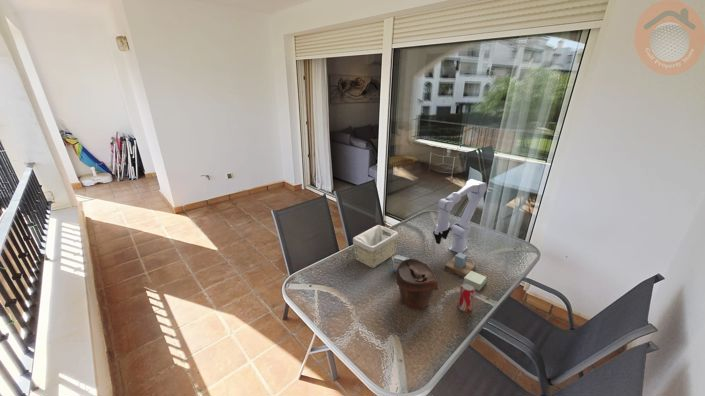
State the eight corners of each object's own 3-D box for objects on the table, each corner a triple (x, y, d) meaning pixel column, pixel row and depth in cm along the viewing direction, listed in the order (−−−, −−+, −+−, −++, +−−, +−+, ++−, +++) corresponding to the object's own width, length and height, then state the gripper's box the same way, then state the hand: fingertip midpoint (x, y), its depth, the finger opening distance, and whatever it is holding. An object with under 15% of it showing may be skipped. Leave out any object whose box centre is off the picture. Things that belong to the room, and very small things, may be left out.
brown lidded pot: (430, 321, 120) (433, 286, 113) (387, 304, 130) (388, 271, 124) (441, 297, 134) (445, 265, 128) (402, 283, 144) (404, 253, 138)
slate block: (458, 261, 156) (459, 252, 154) (465, 264, 153) (467, 255, 151) (453, 264, 153) (455, 255, 151) (461, 268, 150) (462, 258, 148)
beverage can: (465, 315, 123) (468, 293, 118) (454, 306, 128) (457, 284, 123) (475, 310, 125) (478, 288, 121) (464, 301, 130) (467, 280, 126)
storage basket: (372, 270, 154) (372, 247, 149) (351, 259, 165) (351, 237, 160) (398, 253, 170) (399, 232, 164) (378, 244, 181) (378, 223, 175)
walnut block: (454, 260, 162) (455, 256, 161) (475, 269, 154) (475, 264, 153) (444, 269, 154) (444, 265, 153) (465, 279, 146) (466, 274, 145)
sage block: (469, 276, 148) (470, 270, 146) (485, 283, 142) (486, 277, 141) (463, 284, 142) (464, 277, 141) (479, 291, 137) (480, 284, 136)
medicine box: (393, 271, 153) (393, 258, 150) (395, 267, 157) (396, 254, 153) (407, 275, 149) (407, 261, 146) (409, 271, 153) (410, 257, 150)
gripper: (443, 213, 164) (440, 234, 169) (430, 221, 155) (428, 243, 160) (454, 217, 160) (451, 238, 165) (442, 225, 150) (439, 247, 155)
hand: (441, 241), depth 162 cm, fingers open, 7 cm apart
